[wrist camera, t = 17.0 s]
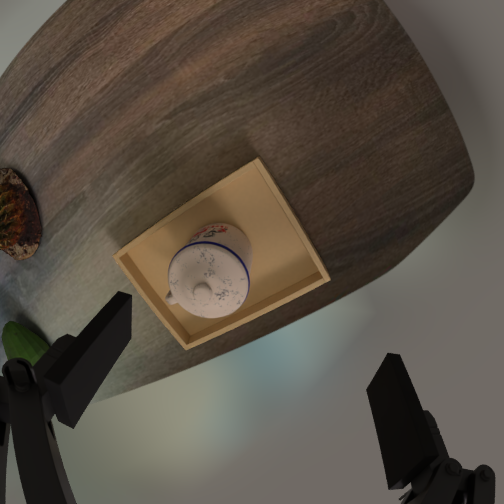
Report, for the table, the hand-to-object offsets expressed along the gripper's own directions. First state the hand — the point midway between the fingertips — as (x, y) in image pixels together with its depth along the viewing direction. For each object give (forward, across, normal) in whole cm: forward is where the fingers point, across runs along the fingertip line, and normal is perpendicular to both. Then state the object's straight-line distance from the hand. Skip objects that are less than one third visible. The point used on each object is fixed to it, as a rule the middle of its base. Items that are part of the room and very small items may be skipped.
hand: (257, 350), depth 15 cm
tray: (+27, -6, -8) cm, 29 cm away
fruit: (+26, -40, -36) cm, 60 cm away
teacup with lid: (+26, -6, -8) cm, 28 cm away
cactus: (+27, -44, -9) cm, 52 cm away
